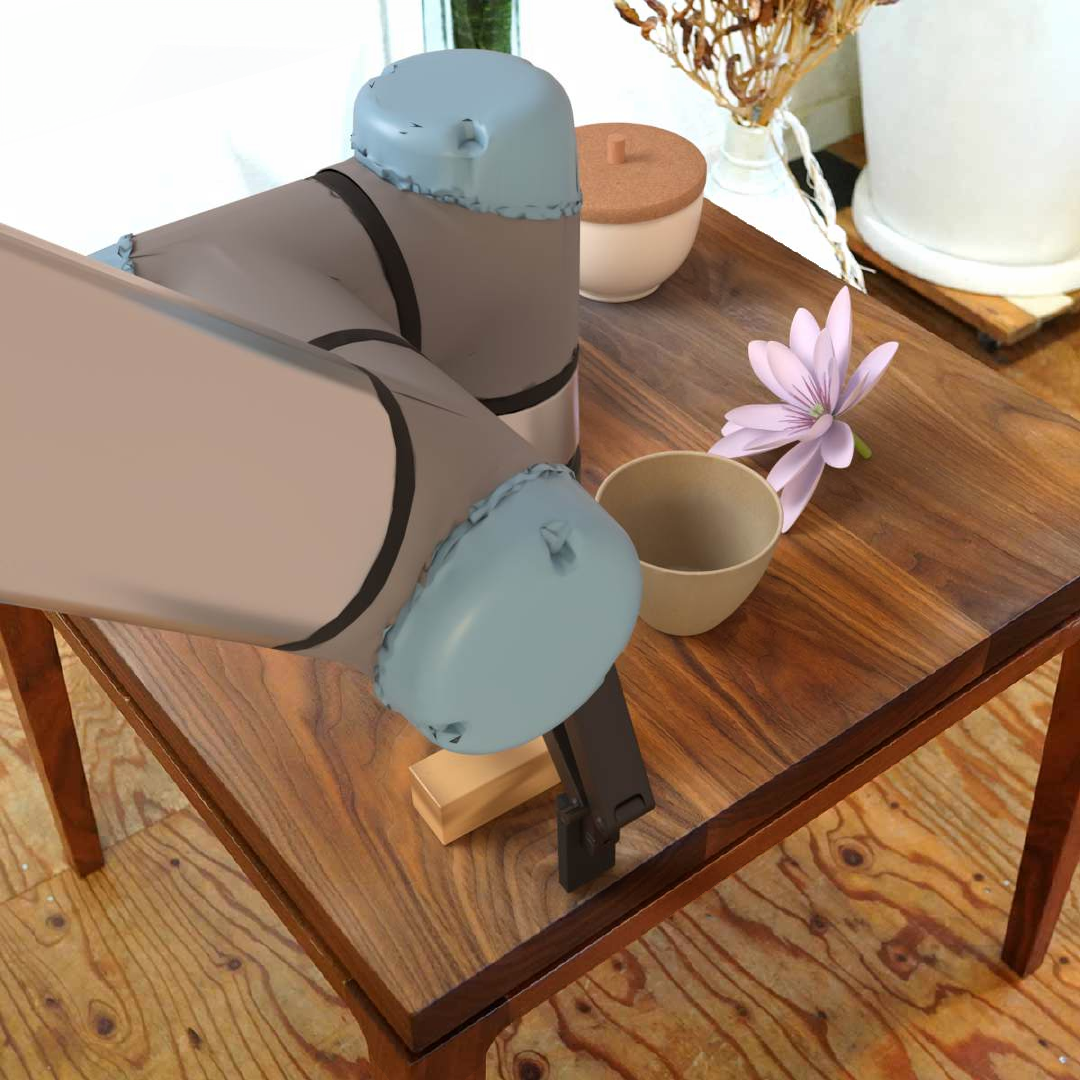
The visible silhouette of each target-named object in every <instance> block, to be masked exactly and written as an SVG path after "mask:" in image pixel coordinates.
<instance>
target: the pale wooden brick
mask: <svg viewBox="0 0 1080 1080" xmlns="http://www.w3.org/2000/svg"><path fill="white" fill-rule="evenodd" d="M408 773H409V781H410V789H411V797H412V805H413V807H414V808H415V810H416V811H417V812H418V813H419V816H421V818H422V819H423V820H424V821H425V823H426V824H427V826H428V827H429V828H430V829H431V831H432V832H433V834H434V835H435V836H436V838H437V839H438V840H439V841H440V843H441V844H442V845H443V846H446V845H449V844H450V843H452V842H453V841H456V840H457V839H460V838H461V837H463V836H465V835H466V834H469V833H470V832H472V831H475V830H476V829H477V828H480V827H482V826H483V825H485V824H488V823H489V822H490V821H492V820H494V819H496V818H498V817H500V816H501V815H503V814H505V813H507V812H509V811H510V810H512V809H515V808H516V807H518V806H520V805H522V804H524V803H525V802H527V801H529V800H531V799H533V798H534V797H537V796H538V795H540V794H542V793H543V792H545V791H547V790H549V789H551V788H552V787H555V786H556V785H558V784H560V783H562V782H561V780H560V777H559V775H558V773H557V770H556V768H555V765H554V763H553V761H552V758H551V756H550V753H549V751H548V749H547V746H546V744H545V742H544V739H543V737H542V735H541V736H540V737H538V738H536V739H534V740H532V741H530V742H528V743H526V744H524V745H522V746H519V747H516V748H512V749H509V750H505V751H502V752H498V753H494V754H486V755H464V754H458V753H454V752H450V751H447V750H445V749H443V748H441V749H440V750H439V751H437V752H435V753H433V754H431V755H429V756H427V757H425V758H423V759H421V760H418V761H417V762H415V763H414V764H411V765H409V766H408Z"/></svg>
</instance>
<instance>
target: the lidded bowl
mask: <svg viewBox="0 0 1080 1080" xmlns="http://www.w3.org/2000/svg"><path fill="white" fill-rule="evenodd" d="M575 134H576V137H577V149H578V165H579V181H580V187H581V190H582V194H583V205H582V209H581V210H580V286H579V296H581V297H584V298H586V299H588V300H593V301H597V302H601V303H602V302H603V303H626V302H632V301H636V300H640V299H643V298H645V297H647V296H649V295H651V294H653V293H654V292H656V291H657V289H659V288H660V286H661V285H662V283H663V282H665V281H667V279H669V278H670V277H671V276H672V275H673V274H674V273H676V272H677V271H678V270H679V268H680V267H681V266H682V264H683V263H684V261H685V260H686V259H687V257H688V255H689V254H690V252H691V250H692V248H693V246H694V243H695V240H696V236H697V233H698V230H699V227H700V222H701V217H702V213H703V203H704V191H705V187H706V184H707V178H708V177H707V176H708V175H707V174H708V163H707V160H706V157H705V156H704V155H703V152H702V151H701V150H700V149H699V147H698V146H696V145H695V143H694V142H692V141H690V140H689V139H687V138H686V137H683V136H682V135H680V134H678V133H676V132H674V131H670V130H668V129H664V128H662V127H657V126H654V125H648V124H642V123H636V122H635V123H633V122H597V123H591V124H590V123H589V124H584V125H580V126H575Z"/></svg>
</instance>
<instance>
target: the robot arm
mask: <svg viewBox="0 0 1080 1080" xmlns="http://www.w3.org/2000/svg"><path fill="white" fill-rule="evenodd" d="M353 105H354V106H353V112H352V131H351V134H350V138H349V141H350V149H351V150H354V151H353V153H354V154H353V156H351V157H349V158H347V159H345V160H344V161H340V162H337V163H334V164H332V165H328V166H326V167H323V168H321V169H319V170H318V171H316V172H315V173H314V175H311V176H307V177H305V178H301V179H297V180H294V181H292V182H289V183H286V184H283V185H280V186H277V187H274V188H270V189H267V190H265V191H262V192H259V193H256V194H253V195H250V196H246V197H244V198H240V199H237V200H234V201H231V202H228V203H225V204H224V205H220V206H216V207H214V208H211V209H208V210H205V211H202V212H199V213H195V214H193V215H189V216H187V217H184V218H181V219H178V220H175V221H172V222H169V223H166V224H163V225H160V226H157V227H154V228H151V229H148V230H144V231H142V232H139V233H136V234H133V232H130V233H128V234H124V235H122V236H120V237H119V239H118V241H117V242H115V243H113V244H111V245H109V246H106V247H104V248H101V249H99V250H96V251H97V252H94V253H92V254H89V255H87V256H84V255H82V254H79V253H80V252H77V251H74V250H71V249H69V248H66V247H63V246H61V245H59V244H56V243H54V242H52V241H49V240H46V239H43V238H41V237H39V236H36V235H33V234H31V233H28V232H25V231H23V230H20V229H18V228H16V227H13V226H11V225H7V224H5V223H3V222H0V604H5V605H11V606H18V607H22V608H29V609H35V610H41V611H47V612H52V613H58V614H65V615H71V616H75V617H76V616H77V617H83V618H88V619H94V620H101V621H106V622H112V623H119V624H124V625H130V626H136V627H143V628H149V629H154V630H160V631H165V632H172V633H178V634H184V635H190V636H195V637H202V638H206V639H207V638H208V639H213V640H218V641H219V640H220V641H225V642H232V643H236V644H237V643H239V644H243V645H249V646H255V647H259V648H264V649H270V650H274V651H275V650H276V651H278V652H279V651H280V652H283V653H287V654H291V655H294V656H299V657H307V658H312V659H319V660H325V661H330V662H337V663H341V664H344V665H346V666H349V667H351V668H353V669H355V670H357V671H358V672H360V673H362V675H364V676H365V677H367V678H368V680H369V681H370V682H371V683H372V685H373V687H372V689H373V691H374V694H375V696H376V697H377V698H378V700H379V701H380V703H381V704H382V705H383V706H384V707H385V708H387V709H389V710H390V711H392V712H394V713H395V712H396V713H399V714H400V715H402V716H403V717H404V718H405V719H406V720H407V721H408V723H410V724H411V725H412V726H413V727H414V728H415V729H416V730H417V731H418V732H419V733H421V734H422V735H423V736H424V737H425V738H426V739H428V741H430V742H431V743H433V744H434V745H436V746H438V747H440V748H441V749H445V750H447V751H450V752H454V753H458V754H464V755H486V754H494V753H498V752H502V751H505V750H509V749H512V748H516V747H519V746H522V745H524V744H526V743H528V742H530V741H532V740H534V739H536V738H538V737H540V736H541V735H542V737H543V739H544V742H545V744H546V746H547V749H548V751H549V753H550V756H551V758H552V761H553V763H554V765H555V768H556V770H557V773H558V775H559V777H560V780H561V782H560V783H561V784H562V787H563V789H564V791H563V792H560V793H559V794H557V795H556V797H555V798H556V811H555V813H556V829H557V863H558V864H557V865H558V883H559V884H560V886H561V887H562V888H563V889H564V891H565V892H566V893H567V894H570V893H572V892H574V891H576V890H578V889H579V888H580V887H582V886H584V885H585V884H587V883H589V882H591V881H592V880H594V879H595V878H597V877H599V876H600V875H602V874H604V873H606V872H607V871H609V870H611V869H613V868H614V867H616V853H617V852H616V850H617V849H616V845H617V844H618V843H619V841H620V840H621V829H622V828H624V827H626V826H628V825H629V824H631V823H633V822H634V821H636V820H638V819H640V818H642V817H643V816H645V815H646V814H648V813H649V812H651V811H654V810H655V809H656V801H655V797H654V794H653V790H652V787H651V784H650V780H649V777H648V773H647V770H646V767H645V766H646V765H645V763H644V760H643V756H642V752H641V750H640V747H639V742H638V739H637V735H636V732H635V729H634V728H635V727H634V725H633V722H632V718H631V714H630V712H629V708H628V704H627V700H626V697H625V694H624V690H623V687H622V683H621V680H620V677H619V673H618V669H617V666H616V663H615V662H616V660H617V659H618V658H619V657H620V656H621V654H622V653H623V652H624V650H625V649H626V647H627V646H628V644H629V642H630V639H631V637H632V635H633V633H634V630H635V627H636V624H637V620H638V618H639V611H640V605H641V600H642V586H643V579H642V569H641V565H640V562H639V558H638V554H637V552H636V549H635V546H634V544H633V543H632V541H631V539H630V537H629V535H628V534H627V533H626V531H625V530H624V529H623V528H622V527H621V526H620V525H619V524H618V523H617V522H616V521H615V520H614V519H613V518H612V517H611V516H610V515H609V514H608V513H607V512H606V511H605V510H604V509H603V507H602V506H601V505H600V504H599V503H598V502H597V501H596V500H595V497H593V496H592V495H591V494H590V493H589V492H588V491H587V489H585V488H584V487H583V486H582V453H581V447H580V445H579V441H580V392H579V359H580V358H579V357H580V344H579V342H580V295H579V286H580V210H581V209H582V205H583V194H582V190H581V187H580V181H579V165H578V149H577V137H576V134H575V127H576V126H575V125H576V124H575V119H574V111H573V110H574V109H573V107H572V102H571V100H570V98H569V95H568V93H567V90H566V88H565V87H563V85H562V84H561V83H560V81H559V80H558V79H556V77H554V76H553V75H552V73H550V72H549V71H547V70H545V69H543V68H540V67H539V66H535V65H534V64H533V63H532V62H531V61H530V60H528V59H525V58H524V57H520V56H517V55H514V54H511V53H507V52H506V53H505V52H501V51H497V50H491V49H490V50H489V49H482V48H480V49H479V48H450V49H449V48H447V49H441V50H433V51H427V52H422V53H418V54H413V55H410V56H407V57H405V58H402V59H399V60H397V61H394V62H391V63H389V64H388V65H387V66H386V67H384V68H383V69H382V71H381V73H380V75H377V76H374V77H371V78H369V79H368V80H367V81H366V82H365V83H364V84H363V85H362V86H361V88H360V89H359V91H358V93H357V95H356V97H355V100H354V104H353Z"/></svg>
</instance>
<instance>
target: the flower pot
mask: <svg viewBox="0 0 1080 1080" xmlns="http://www.w3.org/2000/svg"><path fill="white" fill-rule="evenodd" d="M766 479H767V478H764V476H762V475H761V474H760V473H758V472H757V471H755V470H754V469H752V468H751V467H749V466H747V465H745V464H743V463H742V462H740V461H737V460H734V459H733V458H732V459H730V458H727V457H724V456H720V455H716V454H712V453H708V452H705V451H697V450H668V451H667V450H666V451H660V452H654V453H650V454H646V455H643V456H639V457H637V458H634V459H633V460H630V461H628V462H625V463H624V464H622V465H621V466H619V467H618V468H616V469H615V470H613V471H612V472H611V473H609V475H607V477H606V478H605V479H604V480H603V482H602V483H601V484H600V486H599V488H598V489H597V491H596V495H595V497H594V499H595V500H596V501H597V502H598V503H599V504H600V505H601V506H602V507H603V509H604V510H605V511H606V512H607V513H608V514H609V515H610V516H611V517H612V518H613V519H614V520H615V521H616V522H617V523H618V524H619V525H620V526H621V527H622V528H623V529H624V530H625V531H626V533H627V534H628V535H629V537H630V539H631V541H632V543H633V544H634V546H635V549H636V552H637V554H638V558H639V562H640V565H641V569H642V579H643V586H642V600H641V605H640V611H639V615H638V617H640V619H641V620H643V621H644V622H645V624H647V625H648V626H650V627H651V628H653V629H655V630H657V631H659V632H661V633H664V634H667V635H673V636H679V637H680V636H681V637H684V636H685V637H687V636H694V635H700V634H703V633H706V632H708V631H710V630H712V629H714V628H715V627H717V626H718V625H720V624H721V623H722V622H724V620H726V619H727V618H728V617H730V616H731V615H732V614H733V613H734V612H735V611H736V610H737V609H738V608H739V607H740V606H741V605H742V604H743V603H744V602H745V600H746V599H747V598H748V597H749V596H750V594H751V593H752V592H753V591H754V589H755V588H756V586H757V585H758V584H759V582H760V580H761V579H762V577H763V576H764V574H765V572H766V571H767V568H768V566H769V564H770V562H771V560H772V558H773V556H774V554H775V552H776V549H777V546H778V544H779V542H780V538H781V534H782V532H781V531H782V527H783V522H784V513H783V507H782V504H781V501H780V498H781V497H780V496H779V494H778V492H776V491H775V490H774V488H773V487H772V486H771V485H770V484H769V482H768V481H767V480H766Z"/></svg>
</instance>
